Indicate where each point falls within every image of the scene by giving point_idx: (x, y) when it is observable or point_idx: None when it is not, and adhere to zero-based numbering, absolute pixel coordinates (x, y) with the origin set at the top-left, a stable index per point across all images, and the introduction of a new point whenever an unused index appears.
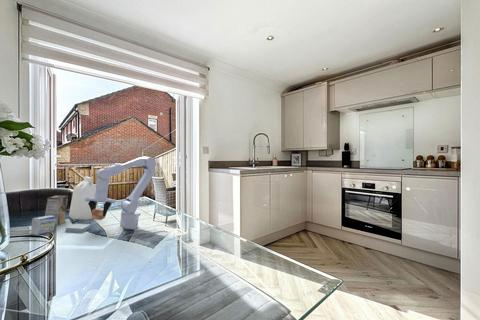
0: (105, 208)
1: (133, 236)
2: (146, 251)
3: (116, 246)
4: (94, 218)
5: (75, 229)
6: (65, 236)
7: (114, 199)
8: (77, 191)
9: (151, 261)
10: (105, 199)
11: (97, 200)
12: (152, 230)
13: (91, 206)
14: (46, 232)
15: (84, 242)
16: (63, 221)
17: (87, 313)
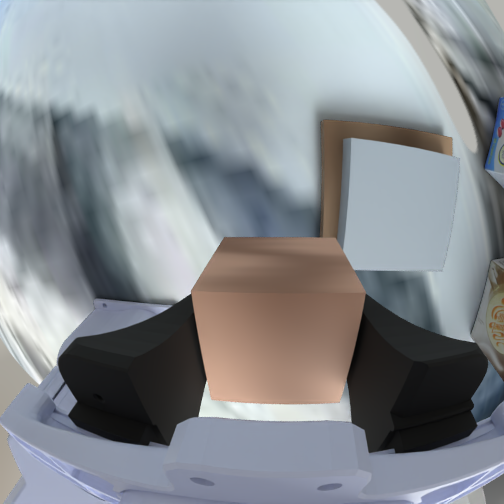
0: (148, 325)
1: (53, 185)
2: (5, 53)
3: (80, 31)
4: (303, 240)
5: (399, 146)
6: (413, 105)
7: (41, 461)
8: (477, 500)
9: (5, 11)
10: (114, 490)
11: (269, 445)
12: (39, 294)
13: (408, 336)
14: (501, 131)
15: (248, 14)
16: (485, 324)
17: None
